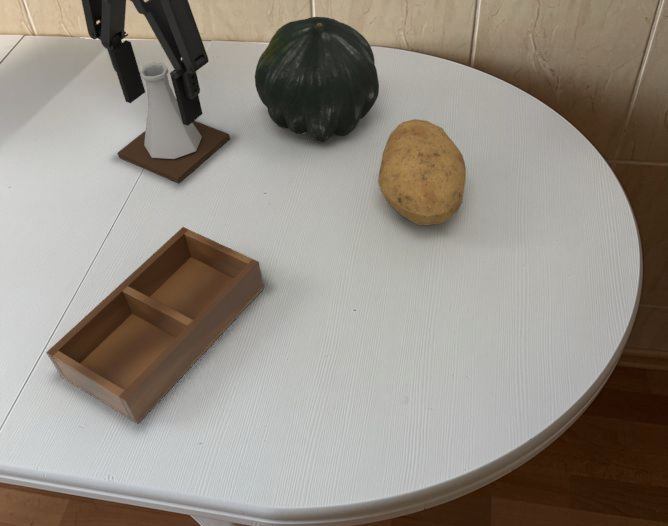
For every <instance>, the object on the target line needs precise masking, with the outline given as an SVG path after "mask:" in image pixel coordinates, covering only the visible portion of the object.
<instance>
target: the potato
mask: <svg viewBox="0 0 668 526" xmlns="http://www.w3.org/2000/svg"><path fill="white" fill-rule="evenodd" d="M381 156H382V157H381V161H380V166H379V167H380V168H379V172H378V179H377V183H378V186H379V188H380V192H381V194H382V195H383V197H384V199H385V200H386V202H387V205H389V206H390V207H391V208H393V209H394V210H395V211H397V212H398V214H400V215H401V216H402V217H404V218H405V219H407V220H409V221H410V222H412V223H413V224H415V225H417V226H423V225H424V226H431V225H438V224H440V225H441V224H443V223H445V222H446V221H448V220H449V219H450V218H452V217H453V216H454V215H455V214H457V213H458V211H459V210H460V208H461V205H462V203H463V200H464V193H465V187H466V186H465V185H466V180H467V179H466V177H467V168H466V161H465V159H464V155H463V154H462V152H461V150H460V149H459V148H458V147H457V145H456V144H455V143H454V141H453V140H452V139H451V137H449V135H448V134H447V133H446V131H445V129H444V128H443V127H441V126H439V125H436V124H435V123H432V122H430V121H428V120H424V119H415V118H414V119H409V120H406V121H403V122H401V123H399V124H398V125H397V126H396V127H395V129H394V130H393V131H392V132H391V133H390V134H389V136H388V138H387V141H386V144H385V146H384V148H383V151H382V155H381Z"/></svg>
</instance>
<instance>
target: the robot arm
mask: <svg viewBox="0 0 668 526" xmlns="http://www.w3.org/2000/svg"><path fill="white" fill-rule="evenodd" d="M129 1H130V2H132V5H133V6H134V8H135V10H136V12H137V13H138V14H140V15H143V16H144V18H145V19H146V21H147V23H148V25H149V27H150V28H151V30H152V32H153V33H154V36H155V37H156V39H157V41H158V42H159V45H160V46H161V48H162V50H163V51H164V53H165V55H166V57H167V59H168V60H169V62H170V64H171V66H172V68H173V70H172V71H170V72H169V75H170V79H171V84H172V87H173V91H174V95H175V97H176V99H177V103H178V107H179V111H180V114H181V118H182V122H183V124H184V125H187V126H188V125H190V124H191V123H192V122H193V121H197V119H198V118H200V117H201V116H202V115H203V109H202V105H201V100H200V97H199V94H200V93H201V88H200V83H199V78H198V75H197V71H199V70H200V69H201V68H203V67H204V66H206V65H207V64H208V63H209V61H210V59H209V57H208V53H207V51H206V48H205V45H204V42H203V38H202V37H201V34H200V32H199V31H200V30H199V28H198V25H197V23H196V19H195V17H194V14H193V11H192V8H191V4H190V2H189V0H146V1H145V0H129ZM81 5H82V10H83V15H84V19H85V24H86V29H87V30H86V31H87V34H88V36H89V37H90V38H91V39H92V40H94V41H96V40H97V39H98V40H99V41H101V42H100V43H101V45H102V47H103V48H105V49H106V50H107V54H108V56H109V59H110V62H111V65H112V68H113V69H114V72H115V73H116V75H117V79H118V82H119V85H120V89H121V91H122V94H123V98H124V101H125V102H126V103H128V104H132V103H133V102H134V101H136V100H137V99H138V98H140V97H141V96H143V95H144V94H145V93H146V89H145V85H144V83H143V78H142V76H141V74H140V70H139V69H140V68H139V66H138V62H137V59H136V55H135V51H134V48H133V44H132V42H131V41H129V40H127V39H125V38H127V37H128V36H129V34H128V33H127V32H126V31H125V28H126V26H125V25H126V12H127V11H126V10H127V8H126V7H127V0H81ZM98 21H99V22H98ZM124 39H125V40H124ZM123 40H124V41H123Z"/></svg>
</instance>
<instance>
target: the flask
mask: <svg viewBox="0 0 668 526" xmlns="http://www.w3.org/2000/svg"><path fill="white" fill-rule="evenodd" d="M139 72H140V75H141V79H142V80H143V81H144V83H145V87H146V94H147V95H146V96H147V111H146V125H145V131H146V132H145V143H144V146H145V147H146V149H147V151H148V152H149V154H150V155H151V157H152V158H166V159H176V158H178V157H181V156H184V155H187V154H190V153H192V152H195V151H196V150H197V148H198V145H199V143H200V141H201V138H202V136H201V134H200V133H199V131H198V130H197V129H196V127H195V126H194V124H193V123H191V124H190V125H188V126H187V125H184V124H183V122H182V118H181V114H180V111H179V107H178V103H177V99H176V95H175V92H173V91H174V90H173V89H172V87H171V85H170V82H169V81H170V80H169V78H168V74H169V67H168V66H167V65H166V64H165V62H151V63H148V64H144V65H142V67H141V69H140V70H139Z"/></svg>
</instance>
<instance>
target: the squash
mask: <svg viewBox="0 0 668 526" xmlns="http://www.w3.org/2000/svg"><path fill="white" fill-rule="evenodd" d="M379 82H380V81H379V75H378V72H377V67H376V65H375V55H374V52H373V49H372V46H371V44H370V43H369V41H368V39H366V37H365V36H364V35H362V34H361V33H360V32H359V31H358V30H357V29H355V28H354V27H352V26H350V25H348V24H347V23H344V22H341V21H339V20H337V19H335V18H330V17H326V16H311V17H308V18H303V19H297V20H293V21H289V22H287V23H285V24H283V25H282V26H281V27H279V28H278V29H277V30H276V31H275V33H274V34H273V35H272V37H271V38H270V41H269V43H268V44H267V47H266V48H265V49H264V51H262V53H261V55H260V56H259V58H258V61H257V64H256V66H255V73H254V84H255V89H256V92H257V94H258V97H259V99H260V101H261V102H262V104H263V105H264V106H265V108H267V112H268V115H269V117H270V119H271V120H272V122H273V123H274V124H275V125H276V126H277V127H280V128H282V129H289V131H291V132H292V133H294V134H295V135H304V134H306V133H307V134H308V135H309V136H310V137H311V138H312V139H313V140H314V141H316V142H319V143H325V142H327V141H328V140H329V139H331V138H332V136H333V135H335V136H338V137H345V136H348V135H349V134H350V133H352V132H353V131H354V129H355V128H357V126H358V124H359V122H360V121H361V119H363V118H365V117H366V115H368V113H369V112H370V111H371V109H372V108H373V106H374V105H375V103H376V102H377V99H378V97H379V91H380V83H379Z"/></svg>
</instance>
